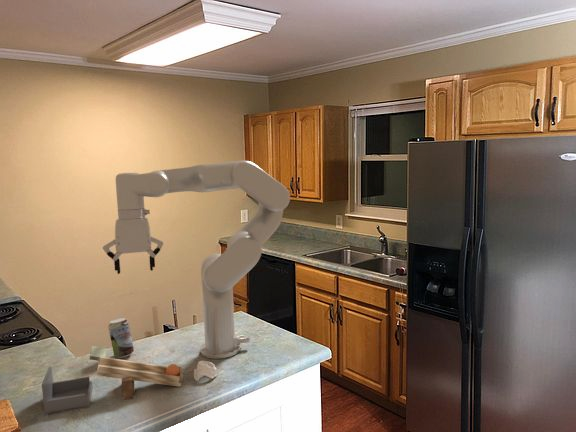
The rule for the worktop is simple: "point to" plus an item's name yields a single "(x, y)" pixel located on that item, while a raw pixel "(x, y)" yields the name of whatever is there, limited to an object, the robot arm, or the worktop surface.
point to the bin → (65, 394)
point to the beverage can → (120, 337)
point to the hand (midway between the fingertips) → (135, 271)
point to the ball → (172, 370)
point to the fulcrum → (127, 388)
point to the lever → (133, 369)
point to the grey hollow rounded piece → (205, 370)
